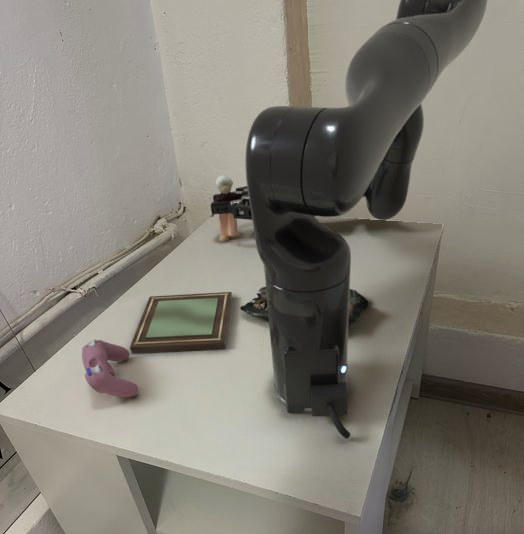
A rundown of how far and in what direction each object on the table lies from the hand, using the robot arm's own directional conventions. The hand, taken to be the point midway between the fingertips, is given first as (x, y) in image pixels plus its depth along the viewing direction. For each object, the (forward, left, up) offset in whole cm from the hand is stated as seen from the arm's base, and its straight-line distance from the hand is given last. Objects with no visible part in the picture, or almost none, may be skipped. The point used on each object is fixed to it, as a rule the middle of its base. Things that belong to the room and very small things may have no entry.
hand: (212, 204), depth 96 cm
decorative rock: (-29, -17, -7) cm, 34 cm away
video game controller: (-44, +10, -7) cm, 46 cm away
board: (-31, +2, -7) cm, 32 cm away
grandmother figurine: (0, -3, -7) cm, 8 cm away
